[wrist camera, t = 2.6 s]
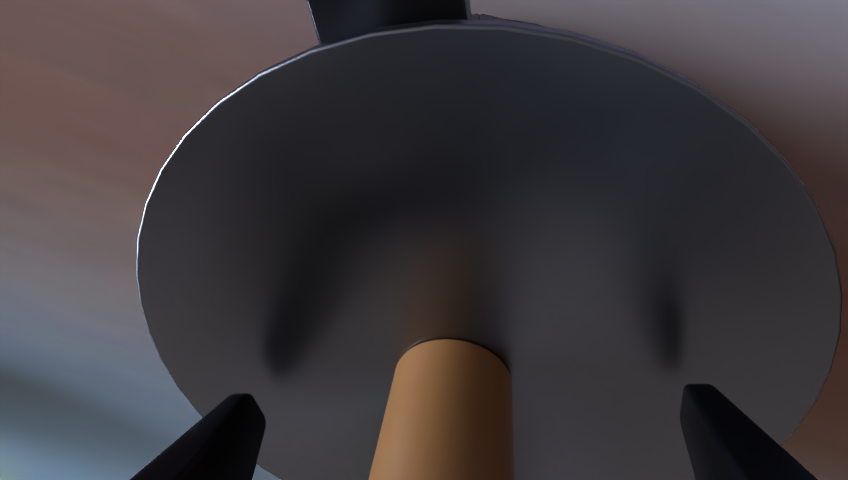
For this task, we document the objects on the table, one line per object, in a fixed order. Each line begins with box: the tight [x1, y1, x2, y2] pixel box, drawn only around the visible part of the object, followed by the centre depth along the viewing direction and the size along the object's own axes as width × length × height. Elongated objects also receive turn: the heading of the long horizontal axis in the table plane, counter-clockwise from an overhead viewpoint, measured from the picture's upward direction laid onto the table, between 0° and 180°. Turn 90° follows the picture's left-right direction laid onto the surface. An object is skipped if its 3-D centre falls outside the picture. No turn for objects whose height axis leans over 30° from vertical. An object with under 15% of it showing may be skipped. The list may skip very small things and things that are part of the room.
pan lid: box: [136, 19, 843, 480], centre depth 8 cm, size 13×13×5 cm
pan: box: [307, 0, 544, 44], centre depth 12 cm, size 12×18×4 cm
